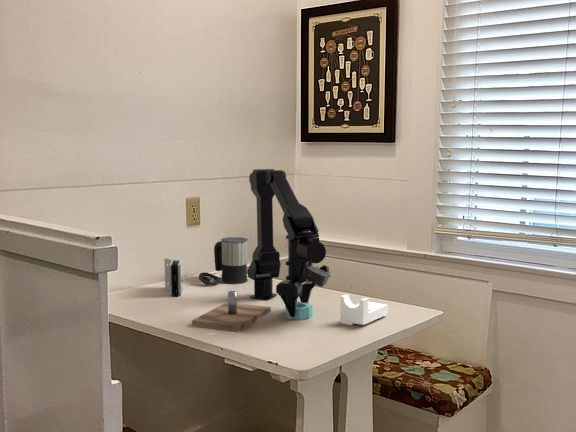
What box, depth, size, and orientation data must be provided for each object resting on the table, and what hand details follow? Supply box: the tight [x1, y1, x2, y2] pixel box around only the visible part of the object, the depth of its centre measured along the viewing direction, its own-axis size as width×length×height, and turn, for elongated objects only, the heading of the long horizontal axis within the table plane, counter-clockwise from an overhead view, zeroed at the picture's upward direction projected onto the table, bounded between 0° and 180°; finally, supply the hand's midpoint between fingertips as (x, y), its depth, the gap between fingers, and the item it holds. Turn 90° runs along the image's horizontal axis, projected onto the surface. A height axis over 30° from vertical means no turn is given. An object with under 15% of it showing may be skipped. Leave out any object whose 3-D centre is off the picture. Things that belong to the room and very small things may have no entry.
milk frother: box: [198, 236, 249, 286], centre depth 222 cm, size 14×16×15 cm
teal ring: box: [284, 301, 313, 321], centre depth 181 cm, size 7×7×3 cm
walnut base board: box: [191, 301, 272, 332], centre depth 179 cm, size 20×14×2 cm
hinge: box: [164, 257, 184, 298], centre depth 210 cm, size 14×5×10 cm, turn 18°
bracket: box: [339, 294, 389, 326], centre depth 177 cm, size 13×7×8 cm, turn 142°
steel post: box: [227, 290, 238, 315], centre depth 178 cm, size 2×2×6 cm
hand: (298, 312), depth 181 cm, fingers open, 9 cm apart
